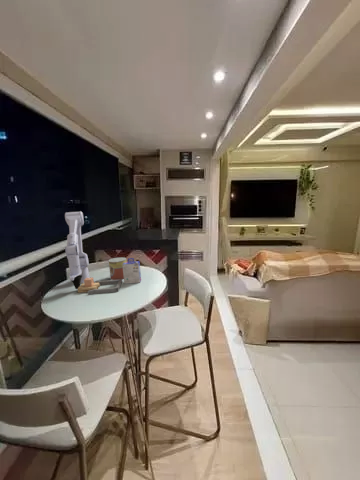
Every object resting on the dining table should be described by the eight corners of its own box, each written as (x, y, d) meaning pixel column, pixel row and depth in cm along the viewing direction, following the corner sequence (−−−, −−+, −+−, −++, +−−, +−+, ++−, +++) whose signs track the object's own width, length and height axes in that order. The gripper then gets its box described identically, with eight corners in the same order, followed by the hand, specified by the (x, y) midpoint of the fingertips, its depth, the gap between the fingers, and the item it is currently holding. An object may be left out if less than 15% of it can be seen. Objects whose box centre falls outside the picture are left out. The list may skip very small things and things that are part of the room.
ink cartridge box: (141, 279, 160) (139, 257, 157) (140, 282, 154) (138, 259, 152) (125, 280, 159) (123, 258, 157) (124, 284, 154) (121, 260, 151)
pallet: (82, 287, 152) (82, 283, 152) (99, 286, 153) (99, 282, 152) (78, 292, 144) (77, 288, 144) (96, 291, 145) (95, 287, 144)
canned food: (107, 277, 168) (105, 260, 165) (122, 273, 175) (120, 256, 173) (115, 281, 159) (113, 262, 157) (131, 276, 167) (129, 258, 164)
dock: (95, 283, 157) (95, 280, 157) (122, 281, 158) (122, 278, 158) (87, 295, 140) (87, 291, 140) (117, 292, 141) (117, 288, 141)
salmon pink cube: (87, 284, 150) (86, 277, 149) (93, 283, 150) (93, 277, 149) (84, 286, 146) (83, 280, 145) (91, 286, 146) (91, 279, 146)
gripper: (71, 262, 152) (74, 284, 155) (62, 270, 138) (66, 293, 141) (83, 261, 153) (86, 283, 155) (75, 269, 139) (79, 292, 141)
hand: (77, 288), depth 148 cm, fingers closed, pressing on pallet
